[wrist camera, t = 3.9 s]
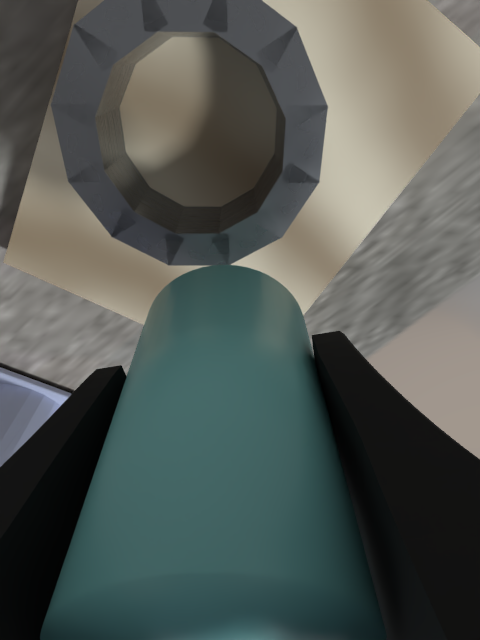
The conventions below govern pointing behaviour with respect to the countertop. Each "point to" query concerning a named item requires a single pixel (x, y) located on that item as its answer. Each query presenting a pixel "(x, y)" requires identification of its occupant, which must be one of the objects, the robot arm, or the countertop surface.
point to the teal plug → (218, 484)
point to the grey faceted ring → (108, 139)
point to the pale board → (258, 146)
